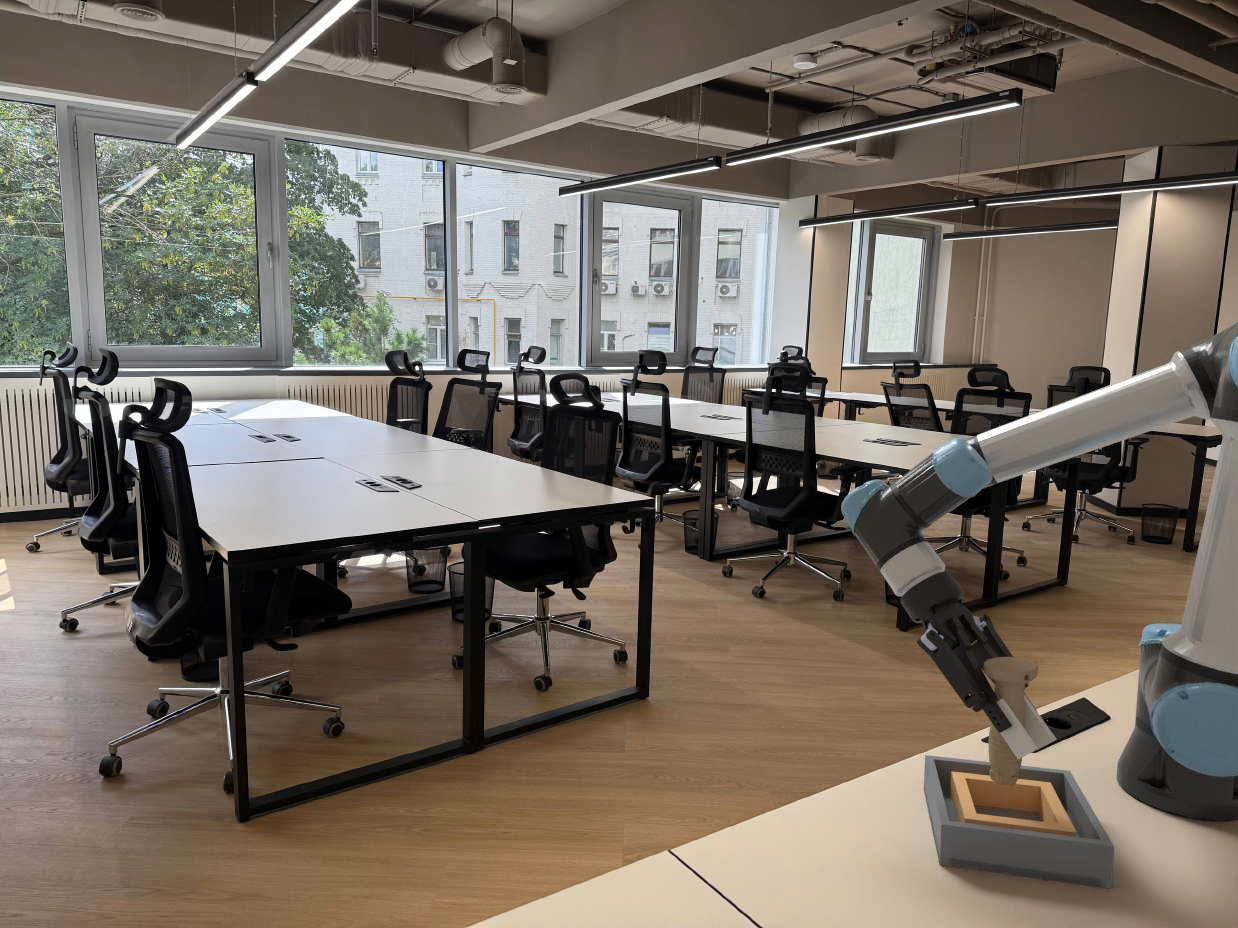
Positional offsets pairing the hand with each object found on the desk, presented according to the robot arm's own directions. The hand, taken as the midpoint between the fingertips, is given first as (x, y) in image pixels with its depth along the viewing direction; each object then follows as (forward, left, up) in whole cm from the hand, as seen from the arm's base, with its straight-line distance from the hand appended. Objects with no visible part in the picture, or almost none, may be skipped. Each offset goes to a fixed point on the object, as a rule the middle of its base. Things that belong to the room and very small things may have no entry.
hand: (1037, 748), depth 100 cm
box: (+2, -2, -12) cm, 13 cm away
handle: (+3, -2, -6) cm, 7 cm away
